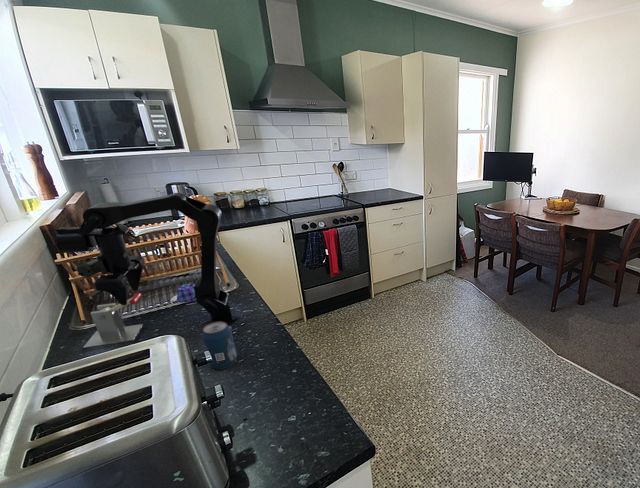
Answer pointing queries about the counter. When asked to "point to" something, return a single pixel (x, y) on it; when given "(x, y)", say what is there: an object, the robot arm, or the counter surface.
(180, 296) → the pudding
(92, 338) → the switch bracket
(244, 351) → the counter surface
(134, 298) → the switch lever
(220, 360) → the soda can
